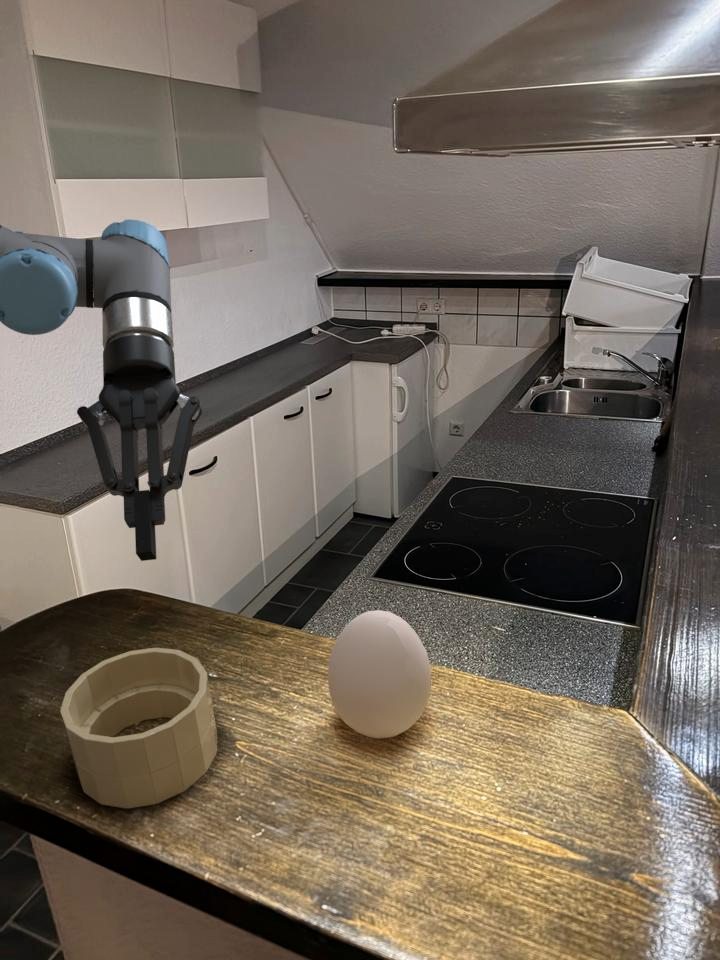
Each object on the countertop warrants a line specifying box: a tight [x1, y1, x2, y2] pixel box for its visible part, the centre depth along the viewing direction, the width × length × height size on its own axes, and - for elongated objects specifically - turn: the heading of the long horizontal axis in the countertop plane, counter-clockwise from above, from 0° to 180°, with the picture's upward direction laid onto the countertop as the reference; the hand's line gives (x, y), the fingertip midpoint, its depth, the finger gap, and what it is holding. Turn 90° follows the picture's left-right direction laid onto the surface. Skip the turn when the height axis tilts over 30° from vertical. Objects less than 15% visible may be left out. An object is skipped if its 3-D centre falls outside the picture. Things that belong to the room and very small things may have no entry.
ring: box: [59, 647, 218, 809], centre depth 62 cm, size 11×11×8 cm
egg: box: [327, 609, 432, 740], centre depth 64 cm, size 9×9×11 cm
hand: (146, 556), depth 75 cm, fingers closed
